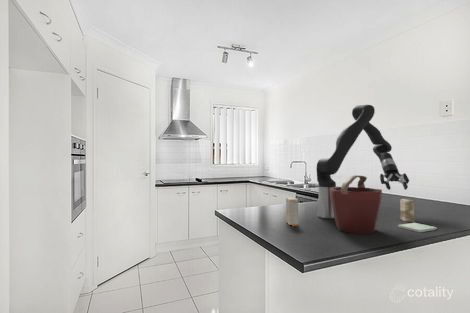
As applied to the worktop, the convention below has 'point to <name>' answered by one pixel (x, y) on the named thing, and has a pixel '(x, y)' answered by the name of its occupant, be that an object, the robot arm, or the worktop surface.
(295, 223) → the supplement box
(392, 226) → the worktop surface
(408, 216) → the maple block
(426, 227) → the sage board
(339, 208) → the bucket
